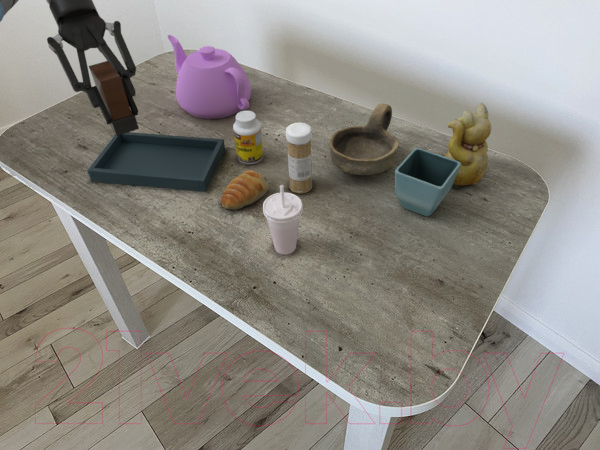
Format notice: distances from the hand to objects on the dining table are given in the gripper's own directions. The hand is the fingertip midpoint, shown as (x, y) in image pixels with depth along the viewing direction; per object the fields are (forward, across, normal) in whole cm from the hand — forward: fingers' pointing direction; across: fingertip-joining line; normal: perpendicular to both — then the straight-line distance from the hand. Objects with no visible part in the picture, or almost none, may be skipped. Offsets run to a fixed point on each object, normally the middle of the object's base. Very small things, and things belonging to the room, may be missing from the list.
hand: (122, 117), depth 90 cm
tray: (+9, -4, -9) cm, 13 cm away
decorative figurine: (+36, -52, +18) cm, 66 cm away
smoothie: (+34, -14, +15) cm, 40 cm away
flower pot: (+37, -40, +19) cm, 58 cm away
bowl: (+26, -40, +7) cm, 48 cm away
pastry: (+23, -14, +4) cm, 27 cm away
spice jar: (+25, -24, +7) cm, 36 cm away
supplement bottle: (+15, -21, -3) cm, 26 cm away
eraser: (0, 0, -5) cm, 5 cm away
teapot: (-3, -24, -21) cm, 32 cm away
